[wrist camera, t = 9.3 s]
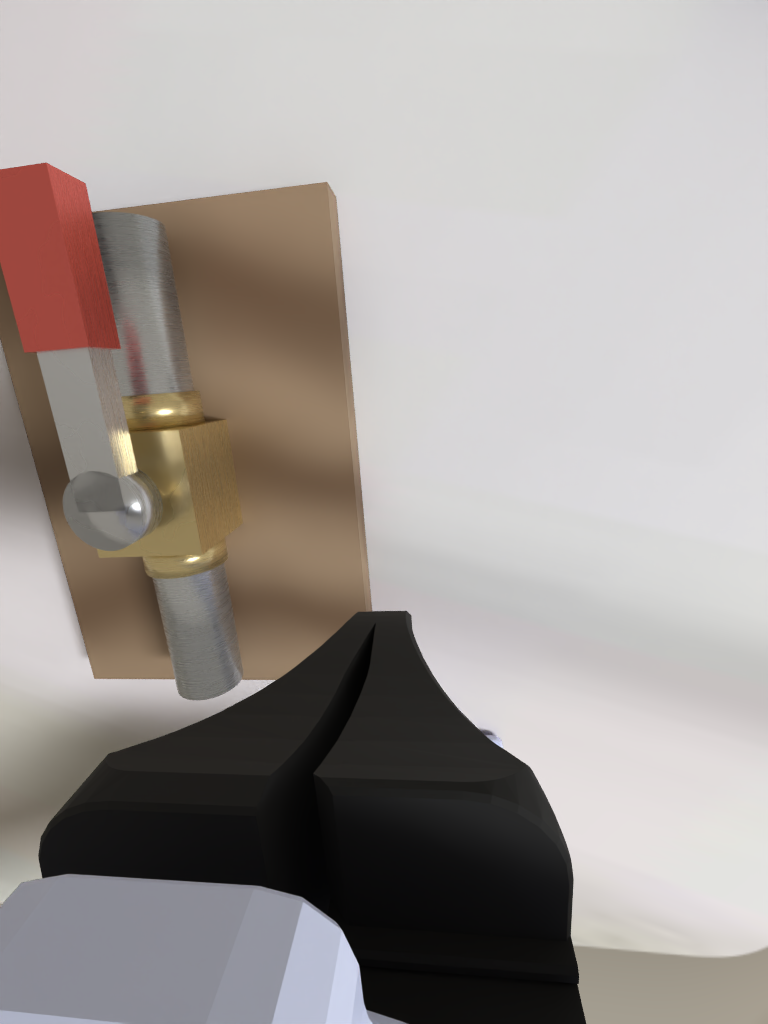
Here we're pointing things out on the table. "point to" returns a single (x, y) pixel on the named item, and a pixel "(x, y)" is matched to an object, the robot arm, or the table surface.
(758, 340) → the table surface
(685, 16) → the table surface
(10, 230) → the lever
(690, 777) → the table surface
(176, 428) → the valve housing
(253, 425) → the mounting board
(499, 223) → the table surface
